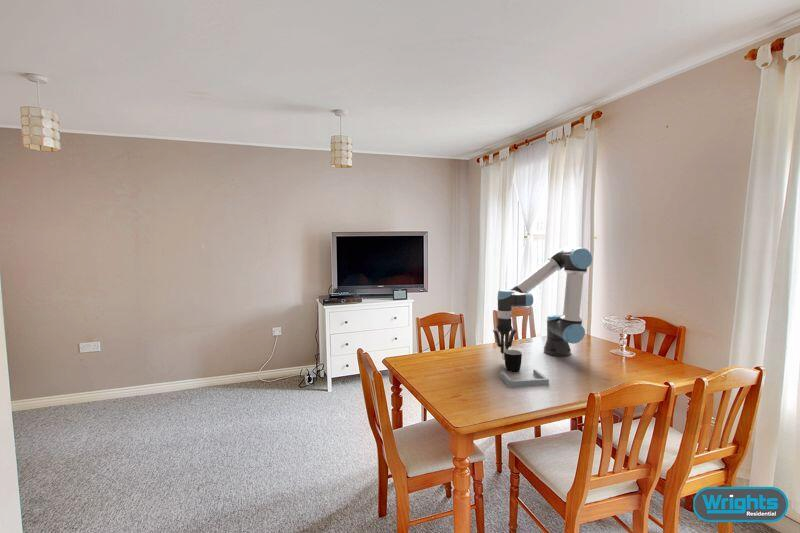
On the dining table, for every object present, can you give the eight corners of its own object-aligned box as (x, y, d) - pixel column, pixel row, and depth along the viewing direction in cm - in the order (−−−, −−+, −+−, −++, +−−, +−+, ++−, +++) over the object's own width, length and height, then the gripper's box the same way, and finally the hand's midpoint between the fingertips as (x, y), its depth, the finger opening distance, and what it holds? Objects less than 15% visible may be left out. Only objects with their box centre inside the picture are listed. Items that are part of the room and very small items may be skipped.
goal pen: (500, 377, 194) (500, 371, 194) (536, 374, 196) (536, 369, 195) (510, 387, 180) (510, 381, 180) (548, 385, 182) (548, 379, 181)
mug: (525, 372, 200) (525, 353, 199) (510, 374, 197) (510, 355, 196) (512, 365, 211) (512, 347, 210) (497, 367, 209) (497, 349, 208)
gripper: (495, 319, 208) (495, 361, 210) (518, 318, 209) (518, 360, 211) (491, 316, 215) (490, 357, 217) (513, 315, 216) (512, 356, 218)
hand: (504, 358), depth 214 cm, fingers closed
